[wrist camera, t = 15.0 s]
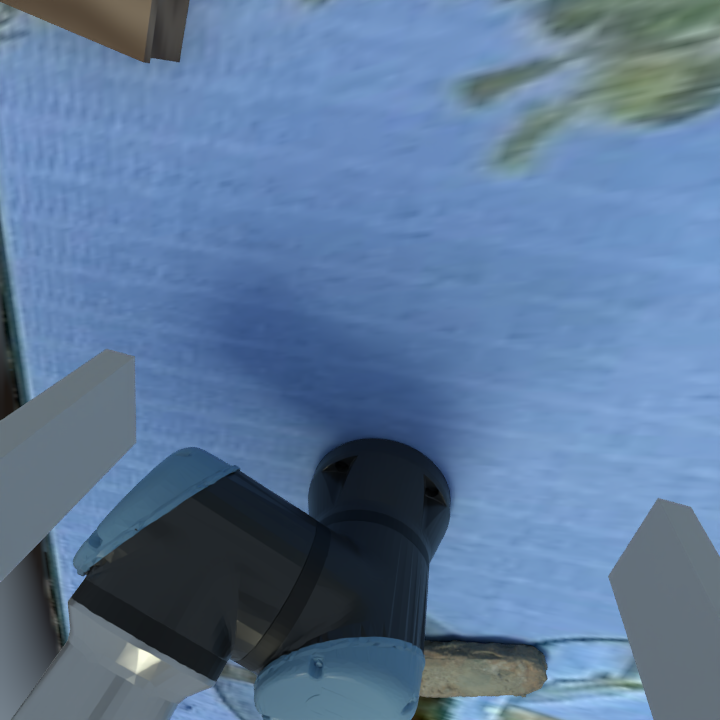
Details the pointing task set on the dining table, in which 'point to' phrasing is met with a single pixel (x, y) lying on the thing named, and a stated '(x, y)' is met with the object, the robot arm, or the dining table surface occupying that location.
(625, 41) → the dining table surface
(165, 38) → the walnut box
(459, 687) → the elongated rock
